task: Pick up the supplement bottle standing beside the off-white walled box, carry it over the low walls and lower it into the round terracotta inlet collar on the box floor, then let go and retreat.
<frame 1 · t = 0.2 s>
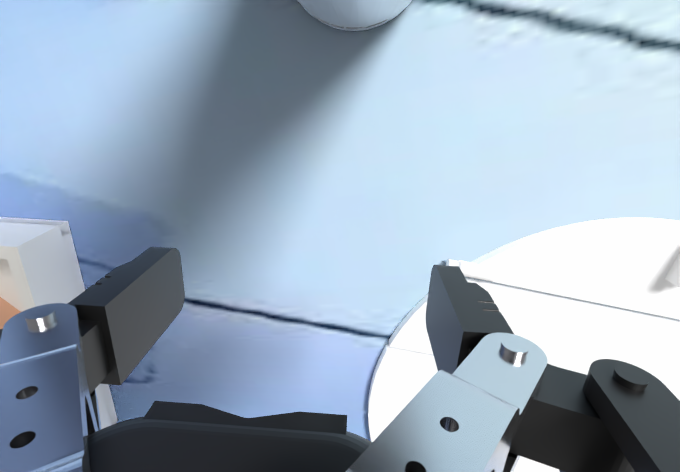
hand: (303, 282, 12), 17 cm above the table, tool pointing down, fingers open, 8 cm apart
white round slatted board: (576, 405, 36), on the table
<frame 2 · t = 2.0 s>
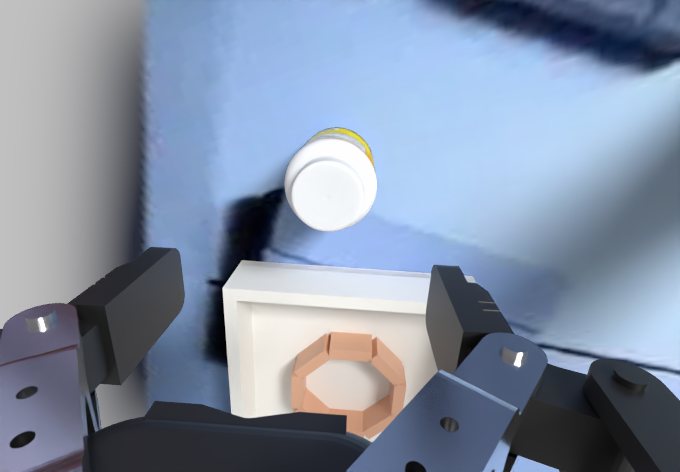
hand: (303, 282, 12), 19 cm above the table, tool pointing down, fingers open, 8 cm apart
supplement bottle: (338, 162, 30), on the table
walled box: (348, 370, 37), on the table
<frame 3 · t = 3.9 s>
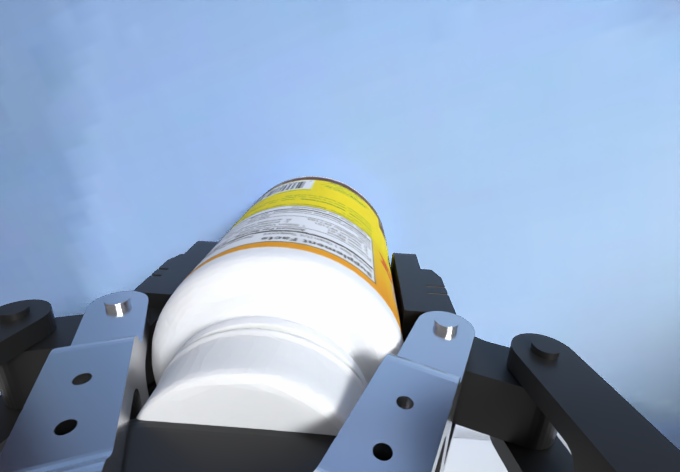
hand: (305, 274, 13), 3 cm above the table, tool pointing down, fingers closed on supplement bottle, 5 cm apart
supplement bottle: (317, 237, 16), on the table, touching gripper
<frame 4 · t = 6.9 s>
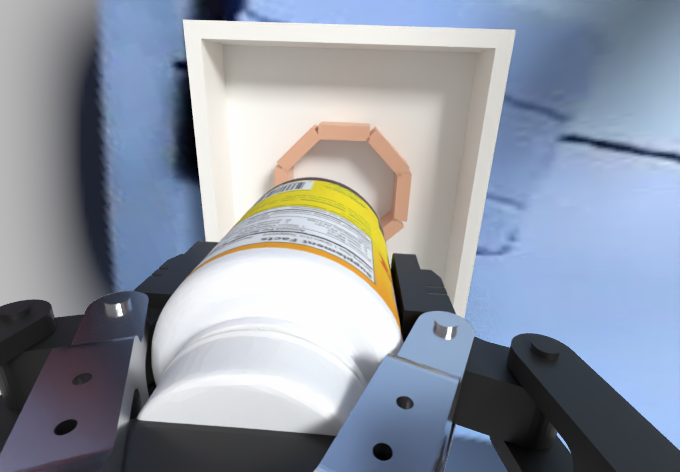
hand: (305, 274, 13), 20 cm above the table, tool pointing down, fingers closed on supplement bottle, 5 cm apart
supplement bottle: (317, 238, 16), point 17 cm above the table, touching gripper
walled box: (343, 183, 32), on the table
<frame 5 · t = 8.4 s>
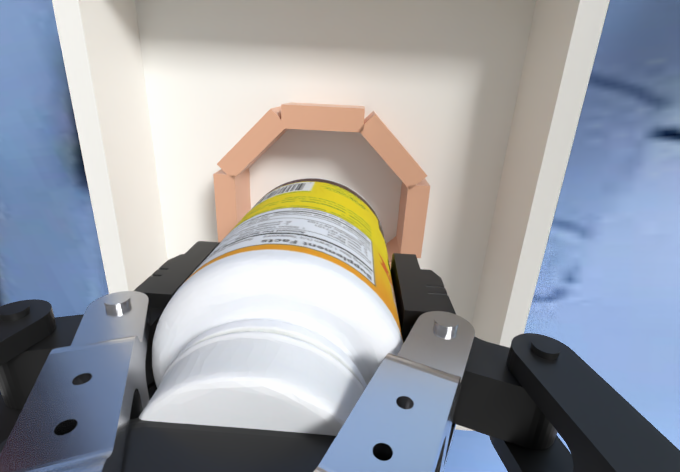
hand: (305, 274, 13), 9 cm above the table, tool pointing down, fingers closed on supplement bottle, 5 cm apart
supplement bottle: (317, 239, 16), point 6 cm above the table, touching gripper
walled box: (325, 197, 22), on the table
when the fingers open (5 cm above the table, at t = 9.8 s): supplement bottle drops 1 cm, resting on walled box.
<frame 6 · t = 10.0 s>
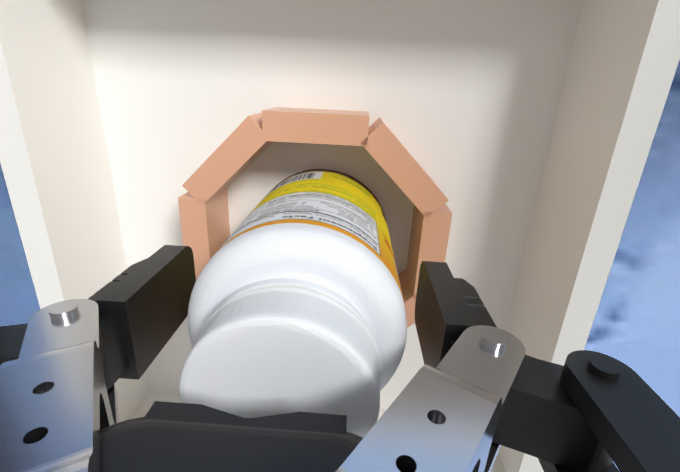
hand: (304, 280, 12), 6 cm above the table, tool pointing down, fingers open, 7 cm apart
supplement bottle: (324, 226, 17), point 1 cm above the table, touching walled box
walled box: (321, 221, 18), on the table
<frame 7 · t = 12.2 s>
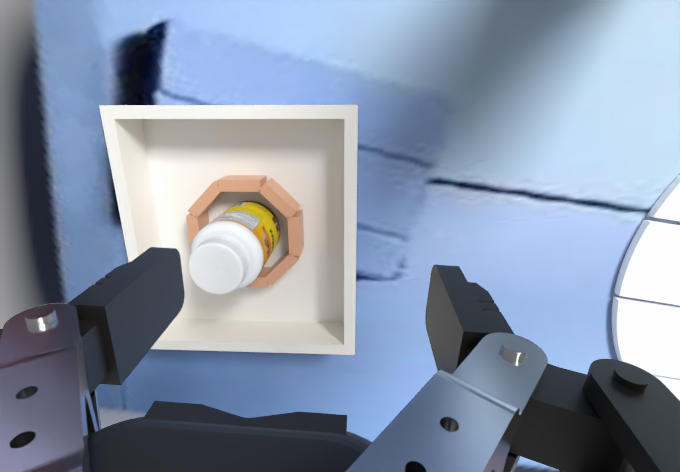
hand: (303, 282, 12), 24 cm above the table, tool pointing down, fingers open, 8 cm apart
supplement bottle: (253, 226, 37), point 1 cm above the table, touching walled box
walled box: (253, 224, 38), on the table
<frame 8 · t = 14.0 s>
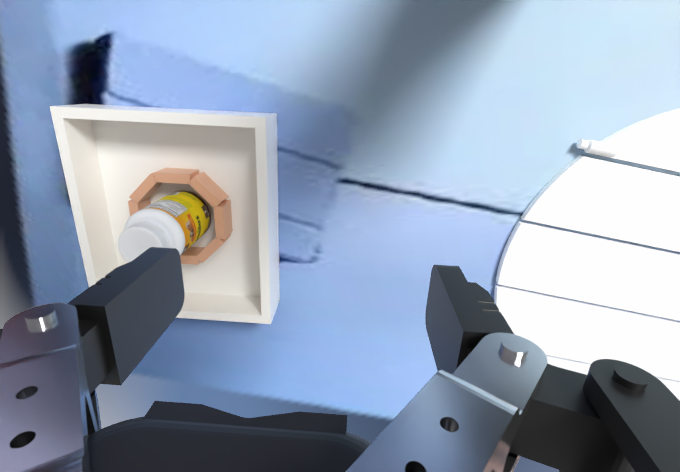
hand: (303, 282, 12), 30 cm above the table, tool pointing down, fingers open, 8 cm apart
supplement bottle: (189, 212, 43), point 1 cm above the table, touching walled box
walled box: (190, 210, 44), on the table
white round slatted board: (668, 277, 44), on the table
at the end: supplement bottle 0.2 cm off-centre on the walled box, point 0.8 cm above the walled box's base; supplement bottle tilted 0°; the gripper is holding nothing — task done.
